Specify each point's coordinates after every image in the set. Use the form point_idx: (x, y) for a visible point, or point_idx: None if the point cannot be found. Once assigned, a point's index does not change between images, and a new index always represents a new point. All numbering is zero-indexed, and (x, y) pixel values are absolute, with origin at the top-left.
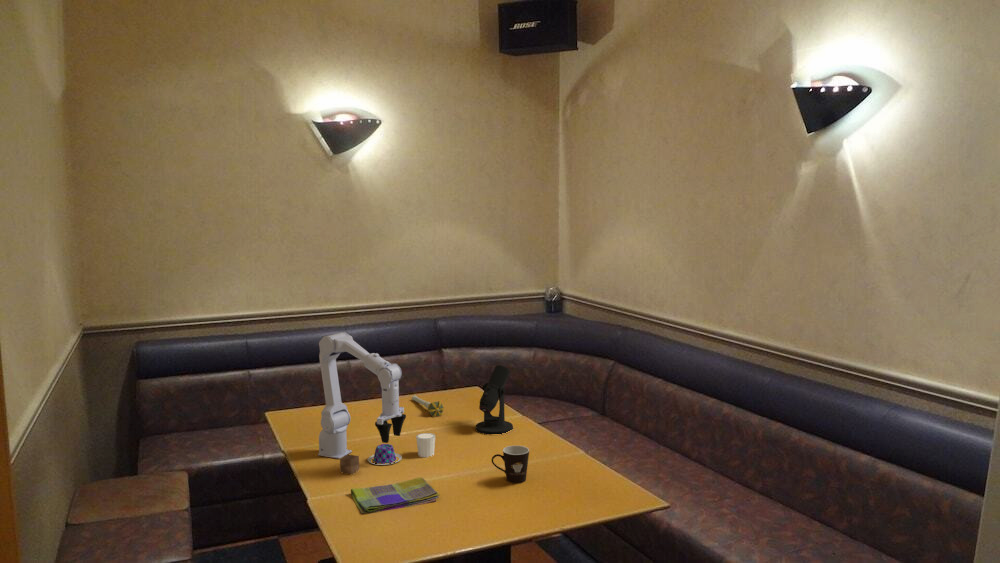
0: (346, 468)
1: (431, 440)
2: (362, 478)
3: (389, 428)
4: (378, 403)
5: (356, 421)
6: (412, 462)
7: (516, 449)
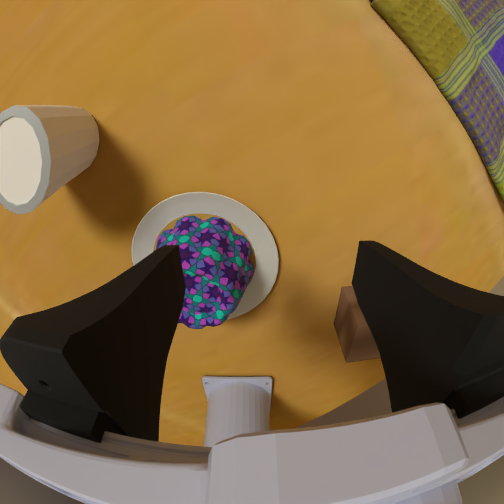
0: None
1: (29, 106)
2: (410, 233)
3: (463, 296)
4: None
5: None
6: (171, 131)
7: None
